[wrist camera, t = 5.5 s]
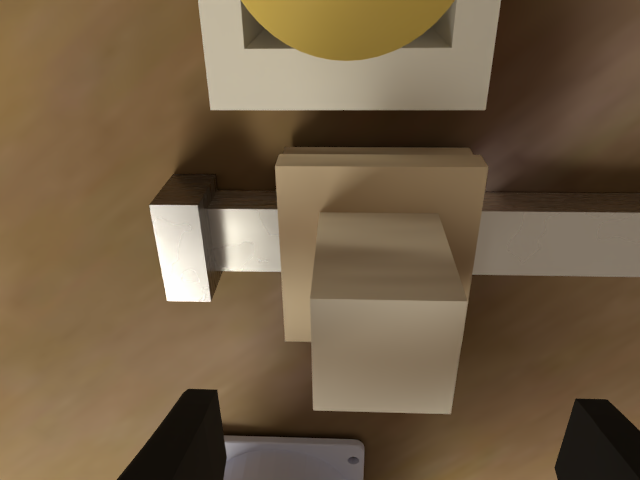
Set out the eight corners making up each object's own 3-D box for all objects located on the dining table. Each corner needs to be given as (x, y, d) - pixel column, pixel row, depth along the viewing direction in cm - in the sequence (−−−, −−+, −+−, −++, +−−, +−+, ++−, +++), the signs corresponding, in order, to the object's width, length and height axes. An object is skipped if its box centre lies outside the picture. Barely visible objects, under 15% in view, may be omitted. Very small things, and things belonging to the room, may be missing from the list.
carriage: (449, 301, 20) (492, 454, 14) (291, 298, 20) (268, 447, 14) (470, 138, 17) (537, 245, 11) (284, 138, 17) (249, 241, 11)
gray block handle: (730, 270, 19) (779, 311, 17) (186, 262, 20) (167, 300, 18) (770, 177, 17) (830, 211, 15) (173, 174, 18) (149, 204, 16)
